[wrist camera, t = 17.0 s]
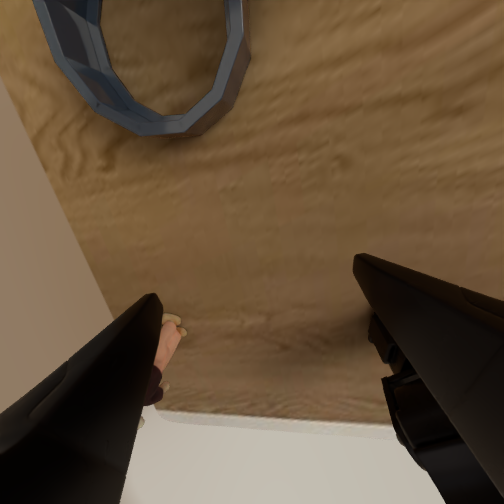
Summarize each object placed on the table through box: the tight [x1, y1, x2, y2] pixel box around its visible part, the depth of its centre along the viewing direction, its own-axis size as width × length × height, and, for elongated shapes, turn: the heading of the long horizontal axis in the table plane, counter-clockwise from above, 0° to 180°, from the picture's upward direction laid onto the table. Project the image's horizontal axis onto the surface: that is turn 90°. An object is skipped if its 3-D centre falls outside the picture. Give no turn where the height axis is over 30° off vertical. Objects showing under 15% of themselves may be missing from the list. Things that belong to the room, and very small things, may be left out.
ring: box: [32, 0, 251, 139], centre depth 14 cm, size 13×13×4 cm
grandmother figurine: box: [138, 313, 187, 429], centre depth 23 cm, size 8×4×13 cm, turn 20°
